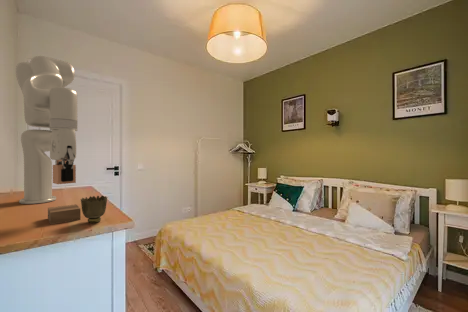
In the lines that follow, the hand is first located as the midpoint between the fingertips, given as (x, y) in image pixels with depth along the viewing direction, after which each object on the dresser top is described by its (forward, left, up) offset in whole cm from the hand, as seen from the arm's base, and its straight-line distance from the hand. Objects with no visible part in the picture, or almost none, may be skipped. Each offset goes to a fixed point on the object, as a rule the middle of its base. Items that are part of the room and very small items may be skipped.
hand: (64, 179), depth 78 cm
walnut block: (0, 0, -14) cm, 14 cm away
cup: (+11, +5, -13) cm, 18 cm away
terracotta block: (0, 0, -1) cm, 1 cm away
